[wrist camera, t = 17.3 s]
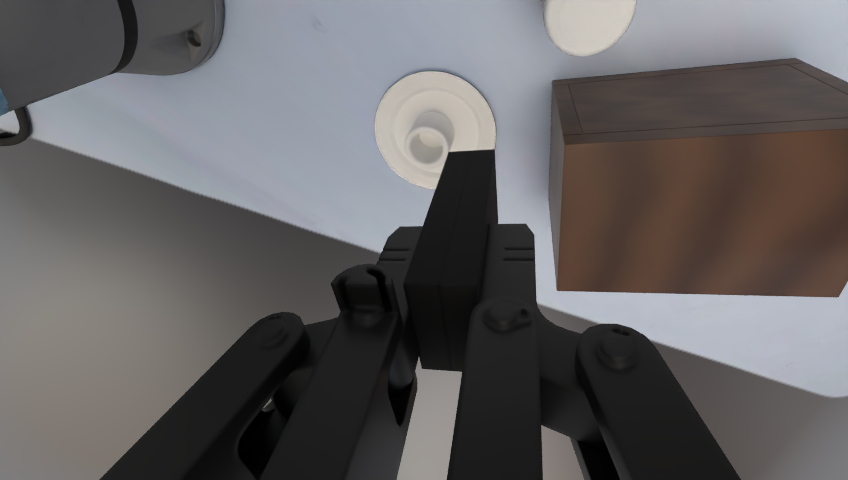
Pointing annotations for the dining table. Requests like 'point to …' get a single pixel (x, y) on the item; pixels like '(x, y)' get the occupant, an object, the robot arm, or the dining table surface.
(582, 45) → the sprinkles bottle
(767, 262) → the cabinet
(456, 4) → the dining table surface
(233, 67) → the dining table surface
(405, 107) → the candle holder
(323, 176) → the dining table surface
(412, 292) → the robot arm
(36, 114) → the dining table surface
